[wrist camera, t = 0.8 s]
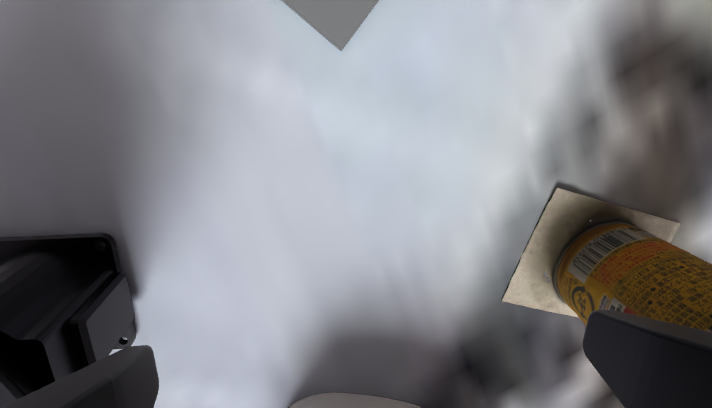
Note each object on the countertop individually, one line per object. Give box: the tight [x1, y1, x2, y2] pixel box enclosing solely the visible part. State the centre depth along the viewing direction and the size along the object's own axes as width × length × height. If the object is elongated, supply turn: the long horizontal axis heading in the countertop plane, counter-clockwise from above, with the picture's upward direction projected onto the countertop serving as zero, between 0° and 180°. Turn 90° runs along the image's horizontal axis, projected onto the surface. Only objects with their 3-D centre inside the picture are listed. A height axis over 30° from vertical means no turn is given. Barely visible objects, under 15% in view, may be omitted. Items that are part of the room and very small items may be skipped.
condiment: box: [502, 188, 712, 332], centre depth 18 cm, size 7×8×12 cm
